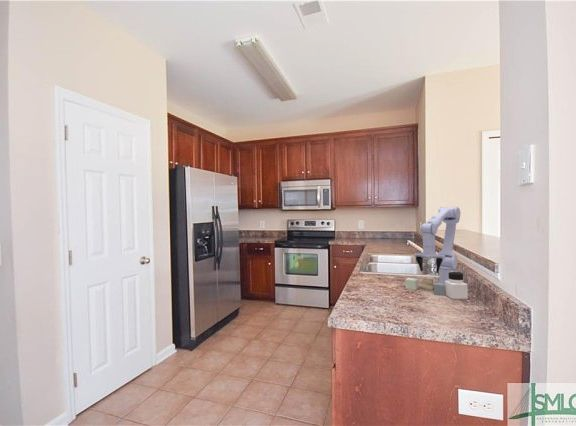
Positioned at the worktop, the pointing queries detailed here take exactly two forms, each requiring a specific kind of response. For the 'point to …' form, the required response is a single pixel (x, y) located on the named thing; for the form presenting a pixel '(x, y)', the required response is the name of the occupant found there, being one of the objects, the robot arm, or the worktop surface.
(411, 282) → the sage block
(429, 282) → the maple block
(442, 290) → the slate block
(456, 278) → the medicine bottle
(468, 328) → the worktop surface
